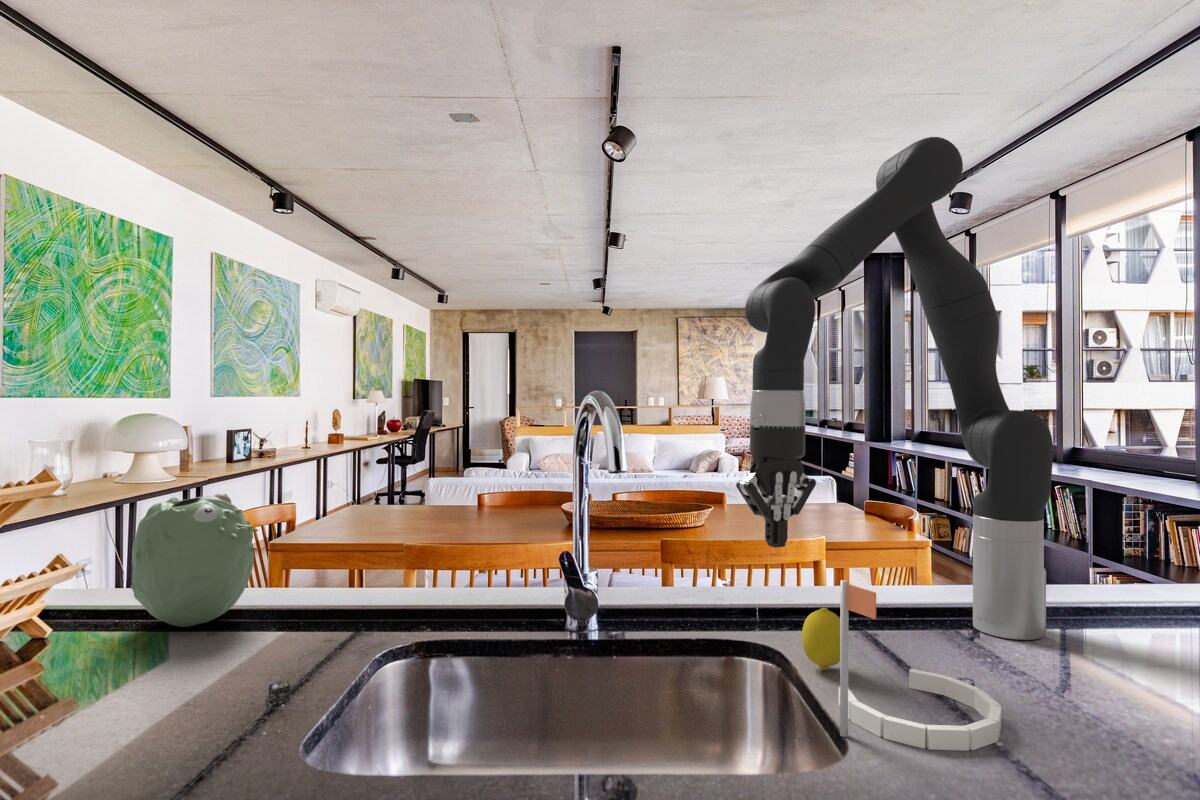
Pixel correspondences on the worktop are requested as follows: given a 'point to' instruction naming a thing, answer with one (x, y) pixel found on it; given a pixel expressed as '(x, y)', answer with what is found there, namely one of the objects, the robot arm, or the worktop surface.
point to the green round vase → (192, 559)
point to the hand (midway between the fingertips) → (776, 546)
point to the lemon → (822, 638)
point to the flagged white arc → (920, 680)
